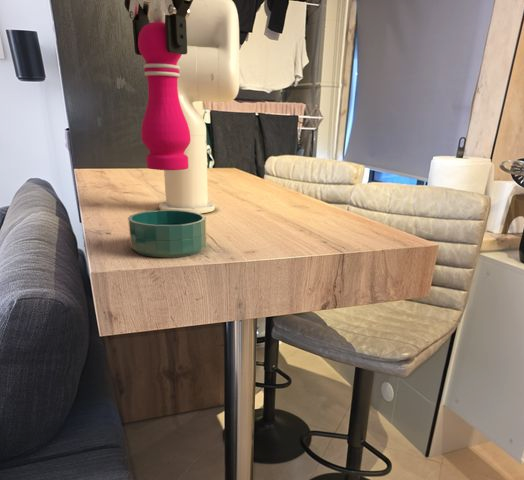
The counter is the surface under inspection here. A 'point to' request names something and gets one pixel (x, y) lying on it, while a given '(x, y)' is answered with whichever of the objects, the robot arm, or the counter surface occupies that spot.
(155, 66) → the pepper mill
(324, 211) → the counter surface
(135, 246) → the bowl
